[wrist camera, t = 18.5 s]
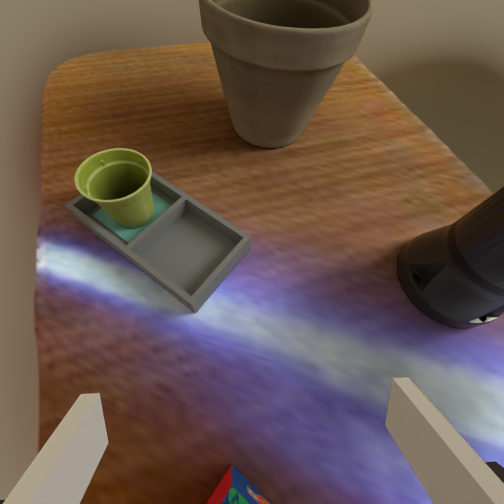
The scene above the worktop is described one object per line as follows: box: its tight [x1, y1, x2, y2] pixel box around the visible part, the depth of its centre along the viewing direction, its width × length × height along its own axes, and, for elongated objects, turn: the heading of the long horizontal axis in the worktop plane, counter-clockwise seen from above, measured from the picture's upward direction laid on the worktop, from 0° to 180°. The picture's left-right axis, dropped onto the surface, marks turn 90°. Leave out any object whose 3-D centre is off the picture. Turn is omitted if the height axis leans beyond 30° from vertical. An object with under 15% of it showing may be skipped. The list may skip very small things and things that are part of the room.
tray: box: [65, 171, 251, 313], centre depth 40 cm, size 13×25×4 cm, turn 54°
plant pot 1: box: [75, 148, 155, 228], centre depth 38 cm, size 9×9×9 cm
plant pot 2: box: [199, 0, 374, 148], centre depth 46 cm, size 25×25×22 cm
